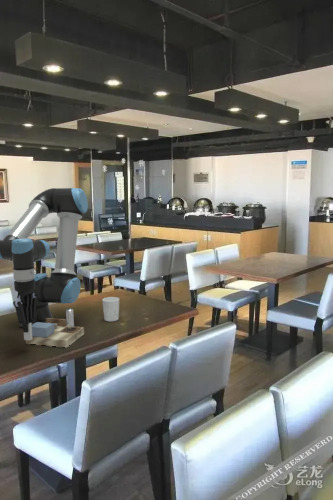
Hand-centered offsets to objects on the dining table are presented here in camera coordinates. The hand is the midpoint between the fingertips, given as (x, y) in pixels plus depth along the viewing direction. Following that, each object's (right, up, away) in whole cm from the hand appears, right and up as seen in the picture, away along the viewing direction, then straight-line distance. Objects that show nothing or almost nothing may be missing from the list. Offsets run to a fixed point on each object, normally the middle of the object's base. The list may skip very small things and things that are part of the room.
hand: (28, 339), depth 158 cm
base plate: (+7, -3, +13) cm, 15 cm away
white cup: (+27, +1, +38) cm, 47 cm away
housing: (+2, 0, +10) cm, 10 cm away
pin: (+13, -2, +15) cm, 20 cm away
